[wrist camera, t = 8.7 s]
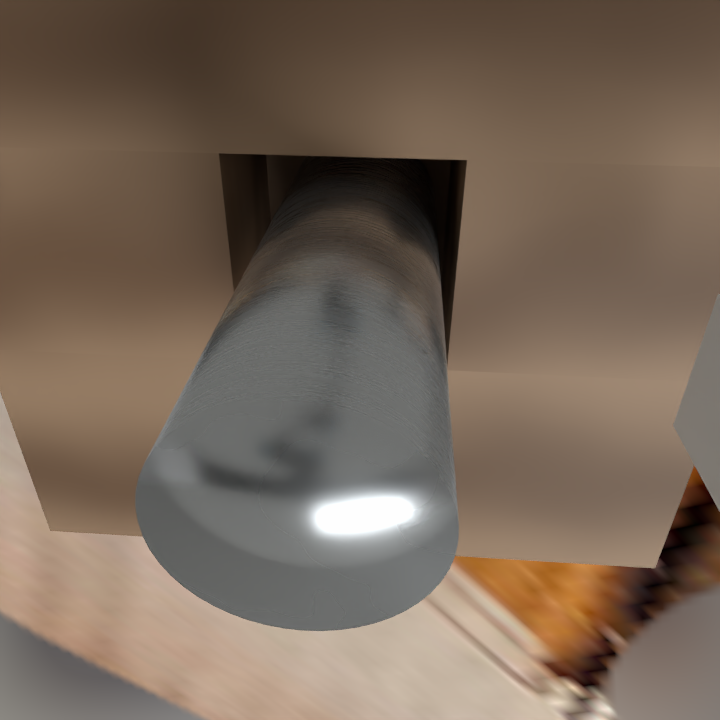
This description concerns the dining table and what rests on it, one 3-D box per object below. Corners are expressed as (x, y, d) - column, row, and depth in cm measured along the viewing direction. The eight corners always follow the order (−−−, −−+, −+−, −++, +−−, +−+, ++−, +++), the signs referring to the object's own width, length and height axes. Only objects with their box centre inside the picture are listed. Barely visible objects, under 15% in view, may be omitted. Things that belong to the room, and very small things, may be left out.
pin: (288, 128, 17) (104, 391, 7) (439, 132, 17) (476, 410, 7) (295, 267, 19) (162, 620, 9) (429, 272, 19) (445, 640, 9)
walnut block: (-22, -208, 15) (-245, -288, 10) (779, -212, 14) (987, -303, 9) (125, 411, 25) (50, 530, 20) (603, 435, 24) (654, 568, 19)
